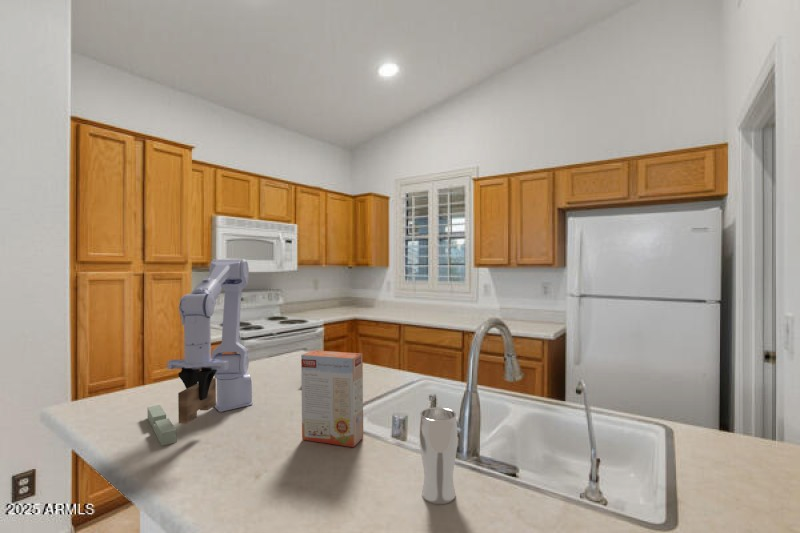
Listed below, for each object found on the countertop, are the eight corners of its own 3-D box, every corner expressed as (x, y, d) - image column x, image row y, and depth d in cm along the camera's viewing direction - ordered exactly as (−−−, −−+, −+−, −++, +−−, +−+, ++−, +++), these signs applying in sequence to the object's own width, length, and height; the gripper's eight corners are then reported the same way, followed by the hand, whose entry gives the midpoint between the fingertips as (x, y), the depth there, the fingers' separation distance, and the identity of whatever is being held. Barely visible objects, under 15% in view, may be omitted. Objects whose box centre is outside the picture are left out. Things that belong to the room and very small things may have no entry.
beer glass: (417, 485, 76) (417, 407, 76) (453, 483, 77) (452, 406, 77) (422, 507, 70) (422, 421, 69) (461, 505, 70) (461, 420, 70)
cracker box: (364, 437, 97) (363, 352, 97) (353, 448, 92) (352, 358, 91) (314, 430, 102) (313, 348, 102) (301, 440, 96) (300, 354, 96)
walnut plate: (208, 404, 103) (208, 377, 103) (215, 405, 103) (215, 378, 103) (178, 423, 91) (178, 393, 91) (186, 423, 91) (186, 393, 91)
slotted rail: (160, 415, 112) (159, 404, 112) (176, 442, 96) (176, 429, 96) (147, 418, 111) (147, 407, 110) (161, 445, 94) (161, 433, 94)
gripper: (158, 346, 93) (158, 403, 93) (217, 346, 92) (217, 405, 92) (177, 340, 100) (178, 393, 101) (232, 340, 99) (233, 395, 99)
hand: (198, 398), depth 97 cm, fingers closed on walnut plate, 2 cm apart
